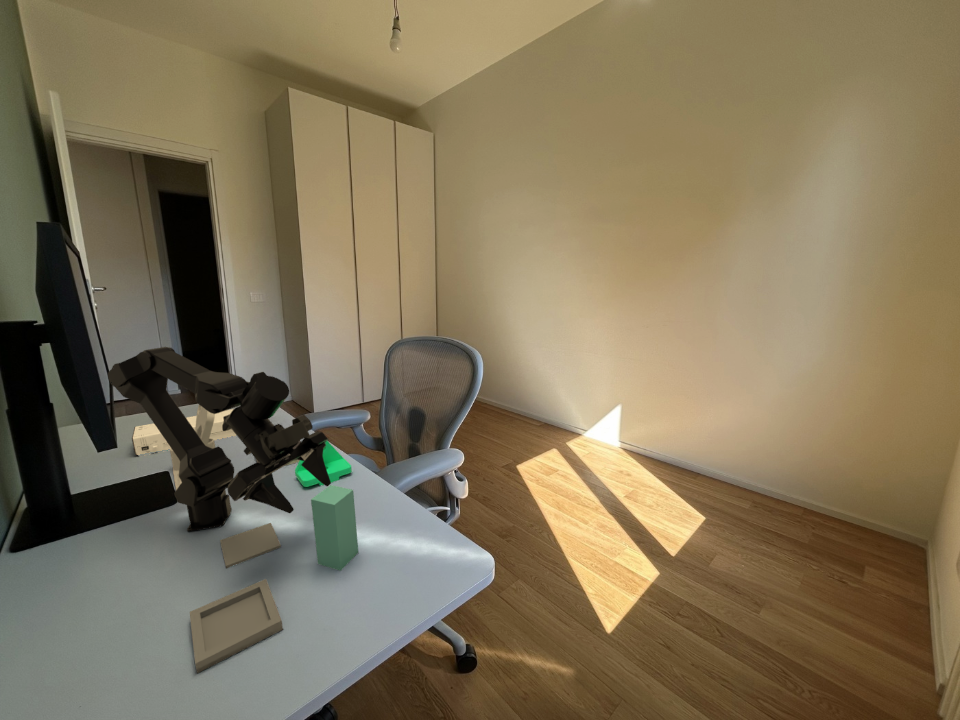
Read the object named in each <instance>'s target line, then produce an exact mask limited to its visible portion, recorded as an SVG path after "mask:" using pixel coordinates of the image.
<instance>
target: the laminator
mask: <svg viewBox="0 0 960 720" xmlns="http://www.w3.org/2000/svg"><path fill="white" fill-rule="evenodd" d="M234 409H235V408H232V409H229V410H226V411H223V412H220V413H217V414H215V418H214V423H213V426H212V430H211V434H210V437H209V438H211V439H214V441H218V440H217V439H219V440H222V438H224V439H228V438H231V436H233V437H237V436H236V434H235V433H234V431H233V430H232V429H230V430H227V431H223V430H222V425H223V422H224V419H223V417H224V416H227V415H229V414H230V413H231V412H232V411H233V410H234ZM196 417H197V415H194V416H187V417H186V419H187V420H188V421H189V423H190V424H191V426H192V427H193V429H194V430H195V428H196ZM227 437H228V438H227ZM131 441H132V446H133V451H134V454H135V455H140V454H145V453H150V452H156V451H162V450H168V449H171V447H170V446H169V444H168V443H167V441H166V440H165V438H164V437H163V436H162V434H161V433H160V431H159V430H158V428H157V427H156V426H155V424H154V423H153V422H152V423H150V424H149V423H148V424H144V425H137V426H134V429H133V432H132V437H131ZM168 451H169V450H168Z"/></svg>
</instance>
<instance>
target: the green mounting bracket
mask: <svg viewBox="0 0 960 720" xmlns="http://www.w3.org/2000/svg"><path fill="white" fill-rule="evenodd" d="M323 460H324V464H325V467H326V470H327V473H328V476H329V479H330V481H331V483H333V482H334V483H335V482H337V481H340V477H342V476H346V475H349V474H351V473H352V465H351V464H350V463H349V462H348V461H347V459H345V458H344V457H343V455H341V453H339V451H338V450H337V449H336V447H334V446H333V445H332V444H331V443H330V442H329V441H328V440H327V441H326V447H325V448H324V449H323ZM303 462H304V461H301V460H300V461H299V462H297V465H296V467H295V469H294V473H295V477H296V478H297V480H298V482H299V483H300V484H301V485H302V486H303V488H304V487H305V488H306V487H307V488H309V487H312V486H314V485H315V486H316V485H317V484H318V485H319V486H320V487H322V486H325V485H324V484H322V483H321V482H320V481H319V480H318V479H317V478H315V477H314V476H313V475H312V474H311V473H310V472H309V471H307V470H306V469H305V468H304V467H303V466H302V465H301V464H302V463H303ZM321 485H322V486H321Z"/></svg>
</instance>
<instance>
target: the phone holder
mask: <svg viewBox="0 0 960 720" xmlns="http://www.w3.org/2000/svg"><path fill="white" fill-rule="evenodd" d="M196 416H197V417H196V428H195V431H196V433H197V434H198V436H199V437H200V439H201V440H202V441H203V443H204V444H205V445H206V446H208V447H210V448H216V443H215V440H214V439H211V438H209V437H210V434H211V430H212V426H213V423H214V418H215V414H212V413H210V412H208V411H207V410H206V409H204V408H203V407H202V406H201V405H199V404H198V406H197V411H196ZM169 453H170V458H171V459H170V460H171V463H172V464H171V465H172V473H173V480H174V484H175V485H174V486H175V491H176V490H177V488H178V487H179V486H180V484H181V483H182V481H181V480H180V478H179V468H180V460H179V459H178V457H177V456H176V454H175V453H174V451H173V450H172V448H171V449H170V450H169Z"/></svg>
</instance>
